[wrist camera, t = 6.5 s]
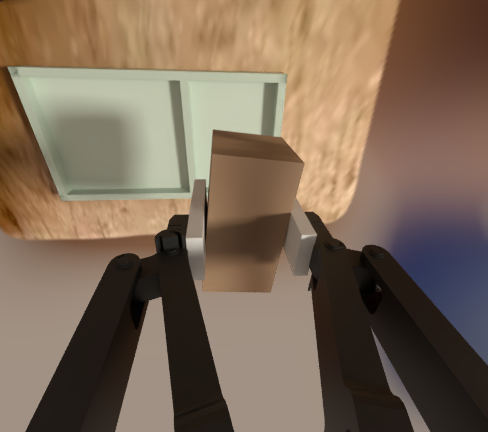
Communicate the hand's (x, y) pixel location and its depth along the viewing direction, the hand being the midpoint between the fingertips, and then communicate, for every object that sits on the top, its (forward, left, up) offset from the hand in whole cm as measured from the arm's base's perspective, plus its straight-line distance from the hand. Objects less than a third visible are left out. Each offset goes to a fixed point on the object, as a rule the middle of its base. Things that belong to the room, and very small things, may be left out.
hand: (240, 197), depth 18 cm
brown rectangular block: (0, 0, -1) cm, 1 cm away
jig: (0, -7, -15) cm, 17 cm away
